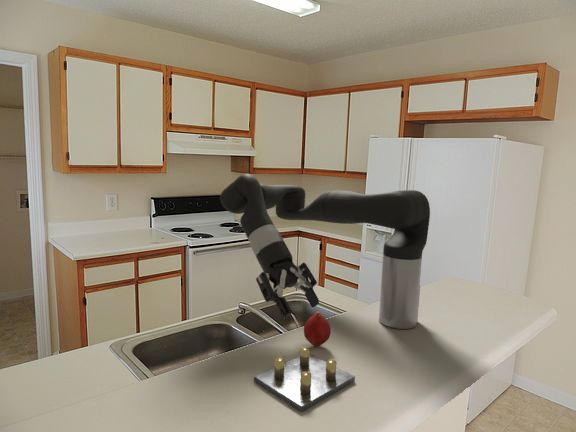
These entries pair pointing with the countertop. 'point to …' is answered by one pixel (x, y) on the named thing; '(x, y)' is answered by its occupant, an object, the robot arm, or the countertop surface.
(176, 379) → the countertop surface
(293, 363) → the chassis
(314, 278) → the robot arm
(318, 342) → the onion
